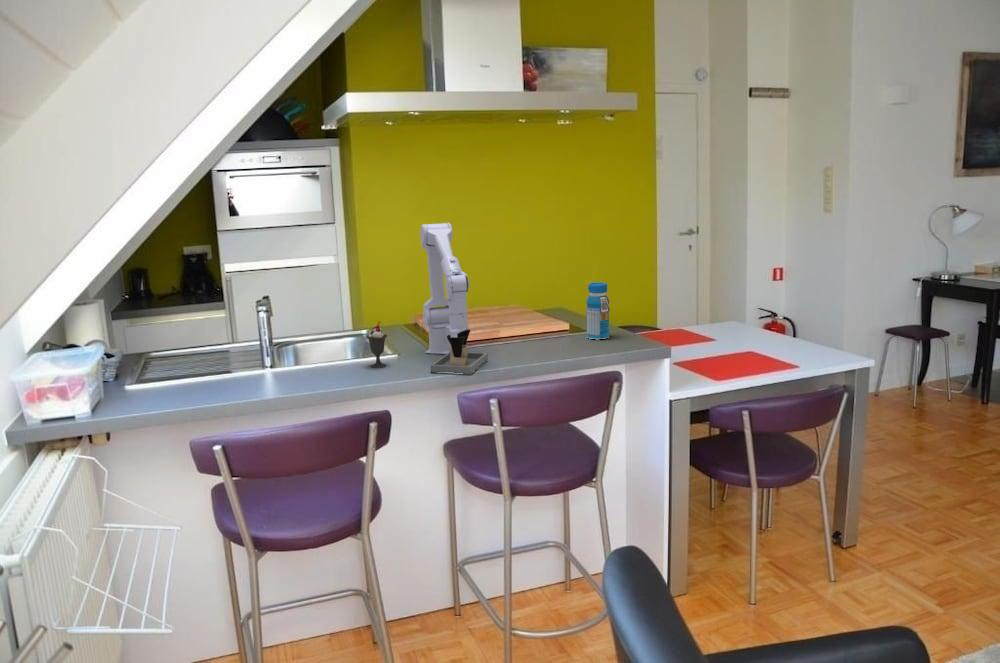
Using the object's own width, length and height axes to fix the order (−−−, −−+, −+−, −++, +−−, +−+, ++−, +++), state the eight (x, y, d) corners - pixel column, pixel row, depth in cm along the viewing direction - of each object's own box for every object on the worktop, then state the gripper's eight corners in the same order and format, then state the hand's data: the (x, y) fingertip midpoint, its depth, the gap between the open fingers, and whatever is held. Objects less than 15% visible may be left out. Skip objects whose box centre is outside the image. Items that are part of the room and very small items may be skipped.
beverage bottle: (585, 340, 280) (585, 285, 276) (586, 335, 288) (586, 281, 284) (609, 340, 279) (609, 285, 275) (609, 335, 287) (609, 281, 283)
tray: (450, 358, 260) (450, 351, 260) (487, 360, 257) (487, 353, 256) (430, 373, 243) (430, 365, 243) (470, 375, 240) (470, 367, 239)
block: (453, 362, 252) (453, 344, 251) (467, 363, 252) (466, 344, 250) (450, 366, 248) (449, 348, 247) (464, 366, 247) (463, 348, 246)
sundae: (385, 368, 250) (382, 322, 247) (365, 368, 251) (362, 322, 248) (391, 363, 256) (389, 318, 253) (372, 363, 257) (369, 318, 254)
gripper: (450, 308, 254) (452, 349, 257) (440, 317, 240) (442, 360, 243) (472, 308, 253) (473, 349, 256) (462, 317, 239) (464, 360, 242)
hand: (459, 354), depth 249 cm, fingers open, 5 cm apart
